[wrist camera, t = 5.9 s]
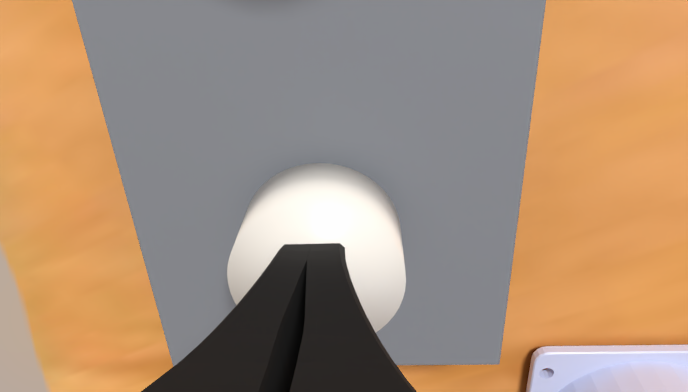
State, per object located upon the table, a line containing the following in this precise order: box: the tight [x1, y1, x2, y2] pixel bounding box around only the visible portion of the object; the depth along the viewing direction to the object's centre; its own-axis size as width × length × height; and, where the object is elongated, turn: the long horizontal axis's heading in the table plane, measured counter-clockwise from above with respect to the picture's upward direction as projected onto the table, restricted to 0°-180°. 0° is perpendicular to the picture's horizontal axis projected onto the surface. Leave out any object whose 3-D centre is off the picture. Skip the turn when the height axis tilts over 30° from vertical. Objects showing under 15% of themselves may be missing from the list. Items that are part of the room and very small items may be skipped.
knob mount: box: [72, 0, 546, 366], centre depth 13 cm, size 20×10×3 cm, turn 3°
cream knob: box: [227, 163, 406, 333], centre depth 14 cm, size 4×4×5 cm
